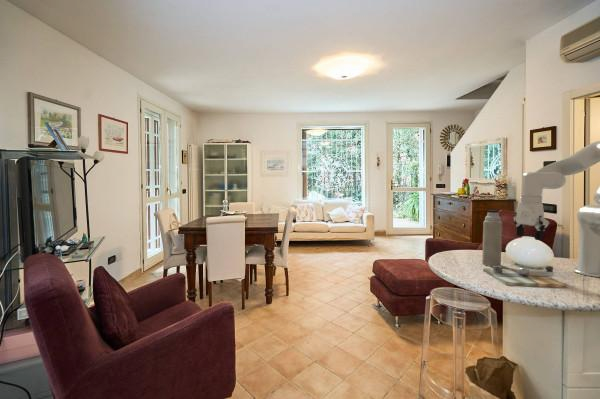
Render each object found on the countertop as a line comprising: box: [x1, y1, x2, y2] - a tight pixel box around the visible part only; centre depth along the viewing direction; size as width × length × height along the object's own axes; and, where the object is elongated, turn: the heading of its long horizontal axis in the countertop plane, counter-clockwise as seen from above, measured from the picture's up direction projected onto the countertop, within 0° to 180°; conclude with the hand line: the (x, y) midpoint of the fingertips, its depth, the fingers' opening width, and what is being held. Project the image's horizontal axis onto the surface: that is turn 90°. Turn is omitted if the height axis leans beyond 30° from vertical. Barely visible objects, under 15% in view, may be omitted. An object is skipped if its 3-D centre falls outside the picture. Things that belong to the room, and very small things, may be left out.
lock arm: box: [518, 265, 555, 278], centre depth 129 cm, size 13×4×4 cm, turn 81°
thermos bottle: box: [481, 209, 503, 268], centre depth 151 cm, size 8×8×28 cm
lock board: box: [482, 265, 567, 288], centre depth 130 cm, size 22×20×4 cm
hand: (529, 237), depth 134 cm, fingers open, 9 cm apart
